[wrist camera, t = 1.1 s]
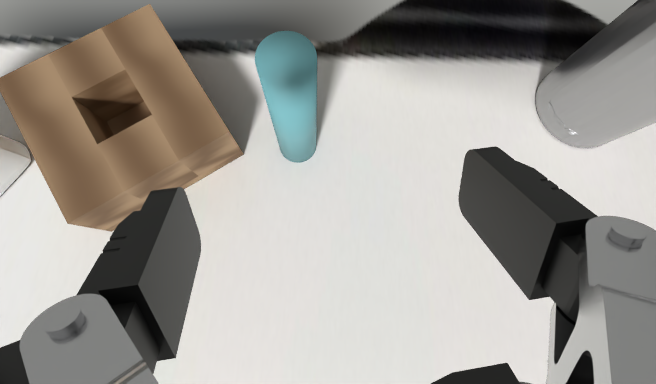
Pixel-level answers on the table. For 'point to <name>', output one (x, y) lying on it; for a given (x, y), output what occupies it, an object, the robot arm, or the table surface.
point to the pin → (290, 91)
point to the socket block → (116, 120)
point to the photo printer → (11, 161)
